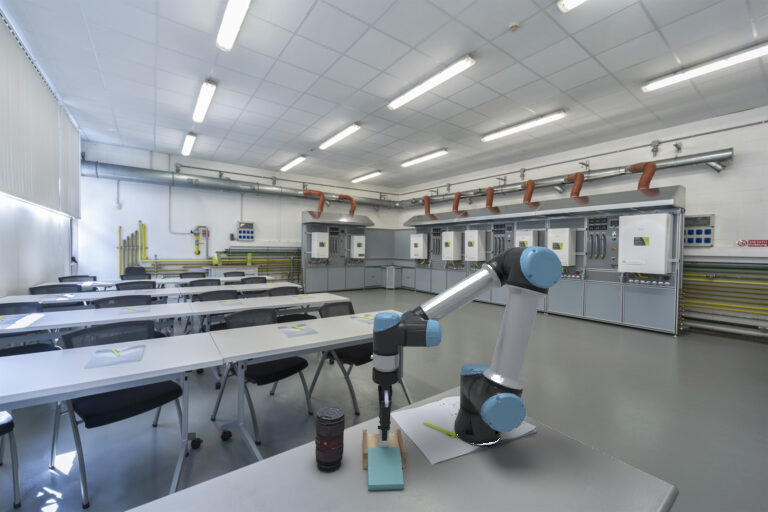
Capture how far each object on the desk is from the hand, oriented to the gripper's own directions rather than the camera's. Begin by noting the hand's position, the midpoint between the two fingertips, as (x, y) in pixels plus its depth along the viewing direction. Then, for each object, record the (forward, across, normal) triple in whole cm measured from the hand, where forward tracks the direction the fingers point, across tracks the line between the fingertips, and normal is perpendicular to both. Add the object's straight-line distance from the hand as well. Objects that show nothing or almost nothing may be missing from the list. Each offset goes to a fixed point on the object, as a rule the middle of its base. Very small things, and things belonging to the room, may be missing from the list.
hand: (383, 449), depth 90 cm
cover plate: (+3, +5, 0) cm, 6 cm away
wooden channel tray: (+4, -4, 0) cm, 6 cm away
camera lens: (+5, 0, -15) cm, 16 cm away
